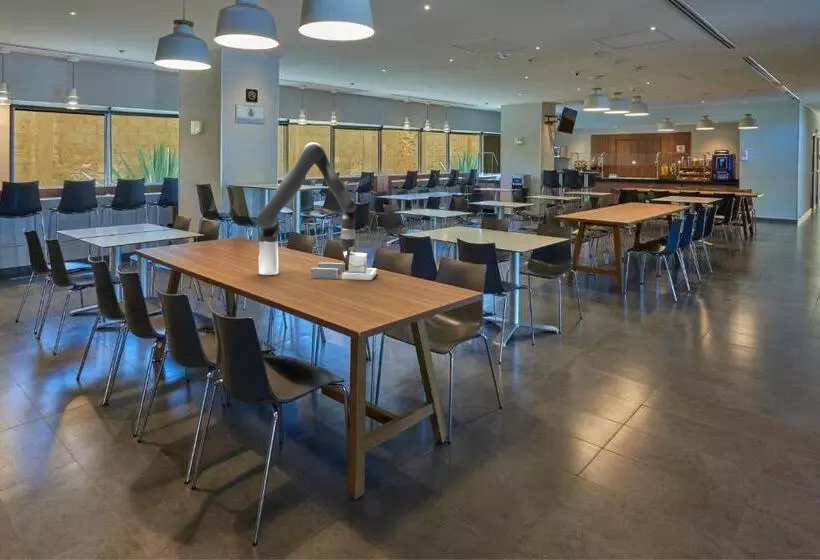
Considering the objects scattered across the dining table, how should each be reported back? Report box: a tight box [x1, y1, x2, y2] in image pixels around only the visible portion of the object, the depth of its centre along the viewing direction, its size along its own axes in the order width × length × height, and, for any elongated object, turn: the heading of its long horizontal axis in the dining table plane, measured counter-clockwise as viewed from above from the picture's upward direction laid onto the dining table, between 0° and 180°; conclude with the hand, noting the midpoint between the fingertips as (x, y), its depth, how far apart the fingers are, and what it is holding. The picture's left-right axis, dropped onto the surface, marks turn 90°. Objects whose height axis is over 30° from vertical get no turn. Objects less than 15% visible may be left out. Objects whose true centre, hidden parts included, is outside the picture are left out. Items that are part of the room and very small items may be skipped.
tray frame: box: [341, 267, 377, 281], centre depth 313 cm, size 15×16×3 cm
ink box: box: [347, 252, 368, 274], centre depth 312 cm, size 8×8×12 cm
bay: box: [310, 262, 346, 280], centre depth 314 cm, size 14×18×5 cm
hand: (347, 270), depth 313 cm, fingers closed
